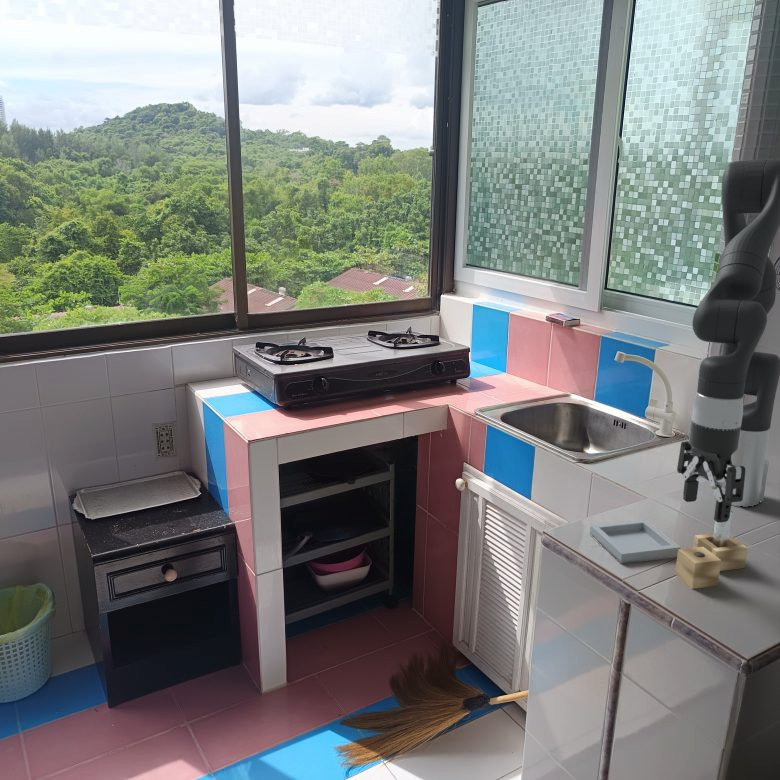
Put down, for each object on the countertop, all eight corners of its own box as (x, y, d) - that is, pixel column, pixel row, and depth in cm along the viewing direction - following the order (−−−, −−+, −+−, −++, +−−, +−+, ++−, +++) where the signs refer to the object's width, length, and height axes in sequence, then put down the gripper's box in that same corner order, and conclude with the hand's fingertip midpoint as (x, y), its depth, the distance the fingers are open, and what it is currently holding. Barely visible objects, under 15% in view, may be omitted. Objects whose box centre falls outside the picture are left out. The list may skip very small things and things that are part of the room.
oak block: (722, 551, 140) (724, 531, 139) (744, 567, 134) (747, 547, 133) (692, 554, 138) (694, 535, 137) (713, 571, 132) (716, 551, 131)
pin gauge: (719, 557, 138) (726, 507, 135) (728, 563, 135) (735, 513, 133) (706, 558, 137) (713, 509, 134) (715, 565, 135) (722, 515, 132)
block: (700, 571, 133) (703, 546, 131) (717, 586, 128) (721, 559, 127) (675, 574, 132) (678, 549, 130) (691, 589, 127) (695, 562, 126)
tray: (644, 528, 149) (645, 519, 148) (679, 556, 138) (680, 547, 137) (589, 534, 146) (590, 525, 146) (621, 563, 135) (621, 554, 135)
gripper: (766, 432, 116) (752, 526, 120) (709, 406, 129) (698, 492, 134) (724, 435, 114) (711, 531, 119) (671, 409, 128) (661, 496, 132)
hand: (704, 510), depth 126 cm, fingers open, 8 cm apart
